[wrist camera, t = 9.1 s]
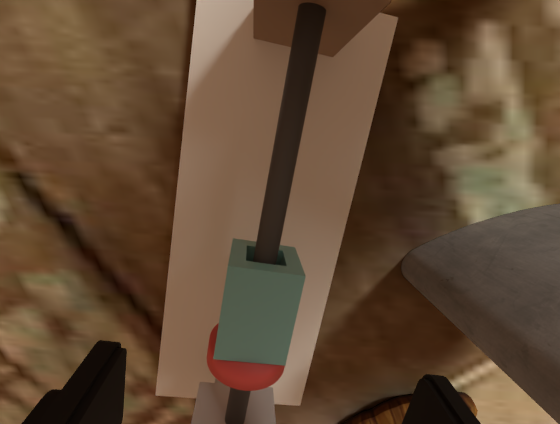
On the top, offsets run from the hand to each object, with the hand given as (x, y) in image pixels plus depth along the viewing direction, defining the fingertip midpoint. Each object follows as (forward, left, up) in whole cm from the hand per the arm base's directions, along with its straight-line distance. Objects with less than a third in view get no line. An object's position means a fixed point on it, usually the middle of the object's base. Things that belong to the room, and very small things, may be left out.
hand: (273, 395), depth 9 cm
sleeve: (+1, 0, -8) cm, 8 cm away
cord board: (-1, 0, -14) cm, 14 cm away
